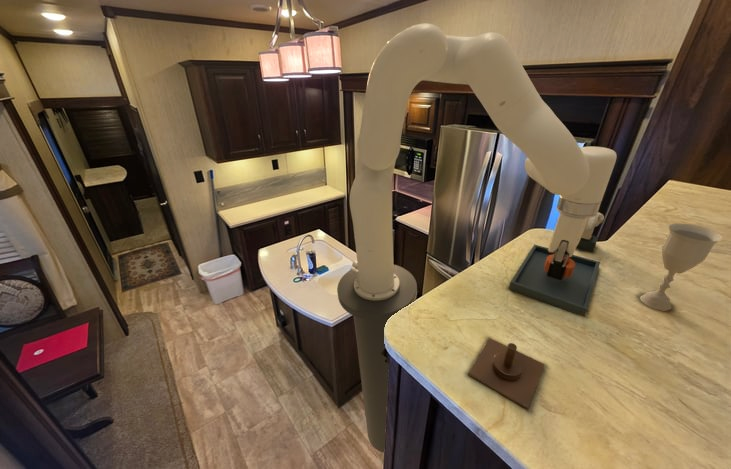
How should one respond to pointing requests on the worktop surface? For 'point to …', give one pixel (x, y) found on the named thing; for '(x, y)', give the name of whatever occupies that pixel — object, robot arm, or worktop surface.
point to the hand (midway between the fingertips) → (557, 270)
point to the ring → (569, 265)
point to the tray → (556, 281)
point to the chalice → (680, 258)
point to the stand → (507, 371)
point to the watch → (590, 234)
